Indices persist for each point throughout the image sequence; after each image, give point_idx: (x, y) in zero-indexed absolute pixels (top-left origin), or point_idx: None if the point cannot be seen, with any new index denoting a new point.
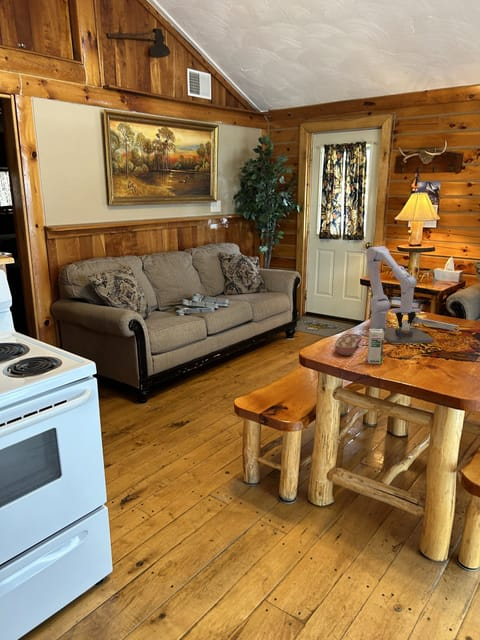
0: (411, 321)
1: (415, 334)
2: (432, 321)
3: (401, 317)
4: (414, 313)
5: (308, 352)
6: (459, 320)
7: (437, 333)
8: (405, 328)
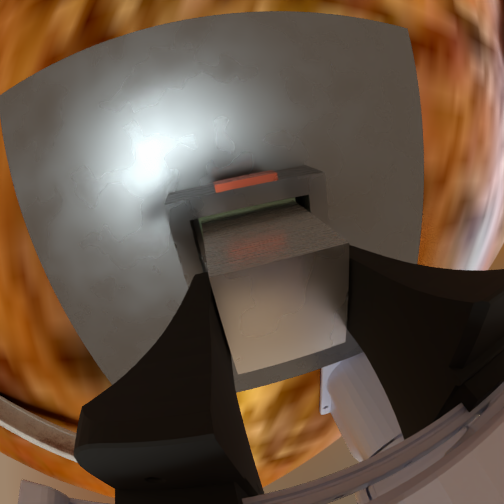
0: (186, 317)
1: (131, 233)
2: (52, 446)
3: (452, 285)
4: (133, 492)
5: None
6: (19, 459)
7: (9, 343)
8: (266, 226)
